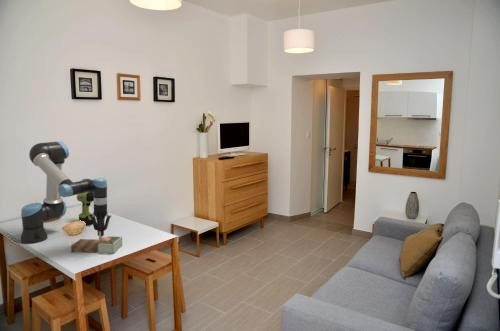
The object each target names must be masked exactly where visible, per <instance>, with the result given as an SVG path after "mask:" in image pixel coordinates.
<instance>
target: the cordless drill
mask: <svg viewBox="0 0 500 331" xmlns="http://www.w3.org/2000/svg"><path fill="white" fill-rule="evenodd" d="M76 200H77V201H78V202H81V203H82V206H81V211H82V212H81V213H79V214H78V221H79V220H81V221H84V222H85V223H86V227H90V226H93V223H92V219H91V217H90V215H91V214H92V213H91V212H90V206H91V203H92V202H94V194H93V193H92V192H86V193H82V194H77V195H76Z"/></svg>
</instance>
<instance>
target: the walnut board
mask: <svg viewBox="0 0 500 331" xmlns="http://www.w3.org/2000/svg"><path fill="white" fill-rule="evenodd" d="M98 244H100V242H99V239H89V238H88V239H87V238H85V239H84V238H79V240H77V241H76V242H74V243H73V244H72V245H71V246H70V249H71V253H88V254H89V253H93V254H94V253H95V254H97V253H98ZM98 254H99V253H98Z"/></svg>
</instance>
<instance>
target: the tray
mask: <svg viewBox="0 0 500 331" xmlns="http://www.w3.org/2000/svg"><path fill="white" fill-rule="evenodd" d="M106 237H108V238H111V242H112V241H113V240H114V239H116V240H117V241H115V242H114V243H113V244H98V254H101V255H102V254H104V255H105V254H106V255H107V254H108V255H114V254H116V252H117V251H118V250H119V249H120V248H122V247H123V236H115V235H114V236H111V235H109V236H106Z"/></svg>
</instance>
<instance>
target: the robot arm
mask: <svg viewBox="0 0 500 331" xmlns="http://www.w3.org/2000/svg"><path fill="white" fill-rule="evenodd" d="M69 156H70V152H69V147H68V145H67V144H66V143H65V142H64V141H47V142H39V143H35V144H34V145H33V146H32V147H31V148H30V150H29V153H28V157H29V160H30V162H31V163H32V164H33V165H34V166H36V167H39V169H40V170H42V172H43V173H44V174H45V176H46V193H45V194H46V195H45V197H44V199H43V201H42V202H43V203H40V202H34V203H29V204H26V205H24V206H22V208H21V213H20V215H21V225H22V231H21V232H22V233H21V236H20V243H22V244H26V245H27V244H36V243H37V244H38V243H41V242H44V241H46V240H47V239H48V238H49V237H48V233H47V231H46V229H45V227H44V222H48V221H51V220H56V219H59V218H61V217H64V216H65V214H66V213H67V205H66V202H65V200H63V198H68V197H69V198H70V197H73V196H77V195H78V194H82V193H86V192H92V193H93V194H94V201H93V212H92V213H91V215H90V217H91V219H92V223H93V225H92V227H93V229H94V230H95V231H97V236H98V240H99V242H100V239H101V238H103V237H104V236H105V231H106V230H107V229H108V227H109V224H110V219H112V215H111V214H110V213H109V212H108V204H107V203H108V183H107V178H105V177H96V178H93V179H91V178H82V179H81V180H79V181H74V182H73V180H71V179H70V178H69V176H67V175H66V174H65V173H64V172H63V170H62V168H63V165H64V164H65V160H67V158H69ZM61 197H62V198H61Z"/></svg>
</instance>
